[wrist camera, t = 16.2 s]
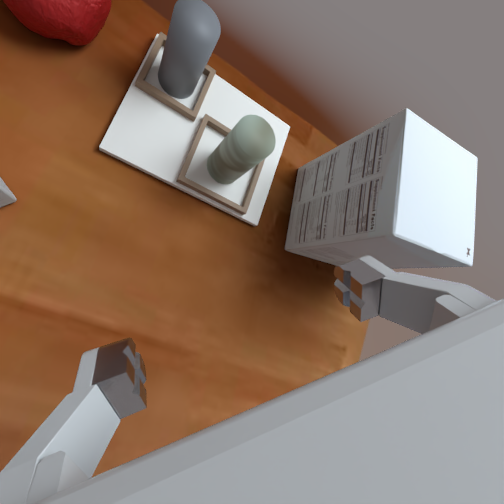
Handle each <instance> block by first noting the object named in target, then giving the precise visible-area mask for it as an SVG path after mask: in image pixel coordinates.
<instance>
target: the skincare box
mask: <svg viewBox="0 0 504 504" xmlns="http://www.w3.org/2000/svg"><path fill="white" fill-rule="evenodd" d="M16 200H17V199H16V197H15V196H14V194H13V193H12V192H11V191H10V190H9V189H8V187H7V186H6V184H5V183H4V182H3V180H2V179H1V177H0V207H2V206H5V205H8V204H11V203H13V202H15V201H16Z"/></svg>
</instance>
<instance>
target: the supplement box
mask: <svg viewBox="0 0 504 504" xmlns="http://www.w3.org/2000/svg"><path fill="white" fill-rule="evenodd" d="M476 182H477V157H476V156H474V155H473V154H471V153H470V152H468V151H467V150H465V149H464V148H462V147H461V146H460V145H458V144H457V143H455V142H454V141H452V140H451V139H449V138H448V137H447V136H445V135H444V134H442V133H441V132H440V131H438V130H437V129H435V128H434V127H433V126H431V125H430V124H428V123H427V122H425V121H424V120H422V119H421V118H420V117H418V116H417V115H416V114H414V113H413V112H411V111H410V110H409V109H408V108H406V109H404V110H402V111H401V112H399V113H397V114H395V115H393V116H392V117H390V118H388V119H386V120H384V121H383V122H381V123H379V124H377V125H376V126H374V127H372V128H370V129H368V130H367V131H365V132H363V133H361V134H360V135H358V136H356V137H354V138H352V139H350V140H349V141H347V142H345V143H343V144H342V145H340V146H338V147H336V148H334V149H332V150H331V151H329V152H327V153H325V154H324V155H322V156H320V157H318V158H316V159H314V160H313V161H311V162H309V163H307V164H305V165H304V166H302V167H300V168H299V169H298V173H297V179H296V185H295V190H294V196H293V202H292V208H291V214H290V220H289V226H288V232H287V238H286V244H285V250H286V251H289V252H292V253H295V254H299V255H302V256H305V257H309V258H312V259H316V260H319V261H322V262H326V263H329V264H333V265H336V266H339V265H342V264H344V263H347V262H350V261H353V260H356V259H358V258H360V257H363V256H366V255H369V256H372V257H373V258H375V259H376V260H378V261H379V262H381V263H383V264H384V265H386V266H387V267H389V268H390V269H399V268H438V267H439V268H440V267H471V266H472V263H473V250H474V228H475V205H476Z"/></svg>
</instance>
